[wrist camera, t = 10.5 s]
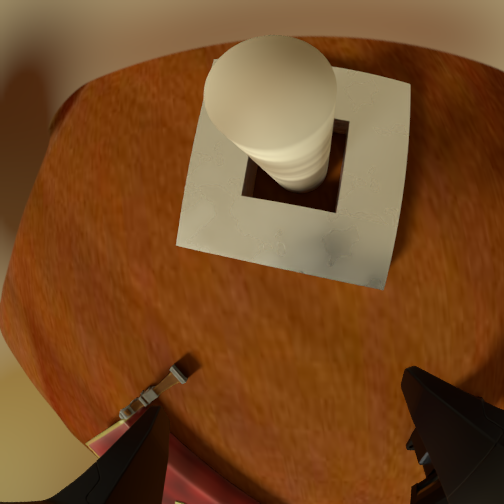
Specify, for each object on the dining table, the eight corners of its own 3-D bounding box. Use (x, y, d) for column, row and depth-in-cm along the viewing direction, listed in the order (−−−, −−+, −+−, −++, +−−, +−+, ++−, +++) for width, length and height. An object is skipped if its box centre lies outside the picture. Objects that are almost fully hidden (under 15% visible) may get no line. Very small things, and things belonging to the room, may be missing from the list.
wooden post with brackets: (125, 398, 25) (111, 412, 21) (179, 357, 27) (171, 367, 22) (136, 411, 25) (124, 427, 21) (191, 370, 27) (185, 383, 22)
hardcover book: (143, 399, 26) (122, 419, 22) (271, 506, 25) (265, 530, 21) (102, 429, 29) (84, 444, 25) (210, 519, 27) (201, 538, 23)
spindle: (338, 160, 19) (361, 71, 7) (306, 204, 20) (286, 174, 8) (292, 130, 20) (252, 21, 7) (261, 173, 21) (180, 109, 8)
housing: (400, 100, 18) (410, 84, 15) (375, 280, 20) (383, 290, 17) (226, 76, 20) (214, 59, 18) (194, 242, 22) (176, 245, 20)
